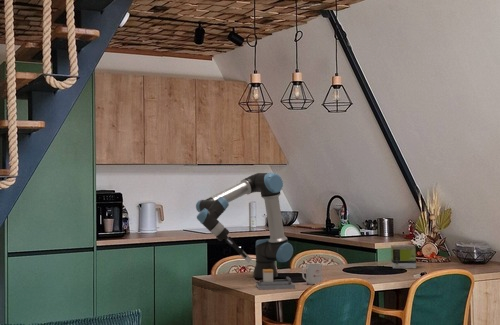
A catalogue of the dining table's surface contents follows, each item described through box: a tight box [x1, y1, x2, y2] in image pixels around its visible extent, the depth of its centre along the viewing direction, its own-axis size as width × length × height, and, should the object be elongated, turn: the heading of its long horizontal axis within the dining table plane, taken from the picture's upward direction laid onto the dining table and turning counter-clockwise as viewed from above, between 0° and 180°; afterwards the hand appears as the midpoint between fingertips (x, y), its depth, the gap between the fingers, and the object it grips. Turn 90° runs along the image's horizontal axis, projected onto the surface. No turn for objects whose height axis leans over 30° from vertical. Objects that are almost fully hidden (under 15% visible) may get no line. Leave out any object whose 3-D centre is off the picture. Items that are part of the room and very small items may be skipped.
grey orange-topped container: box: [262, 269, 274, 282], centre depth 388 cm, size 5×5×8 cm
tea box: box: [390, 244, 417, 269], centre depth 458 cm, size 15×10×15 cm, turn 84°
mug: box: [301, 263, 323, 286], centre depth 397 cm, size 12×9×11 cm
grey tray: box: [255, 276, 296, 291], centre depth 388 cm, size 20×13×5 cm, turn 97°
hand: (250, 261), depth 387 cm, fingers closed
